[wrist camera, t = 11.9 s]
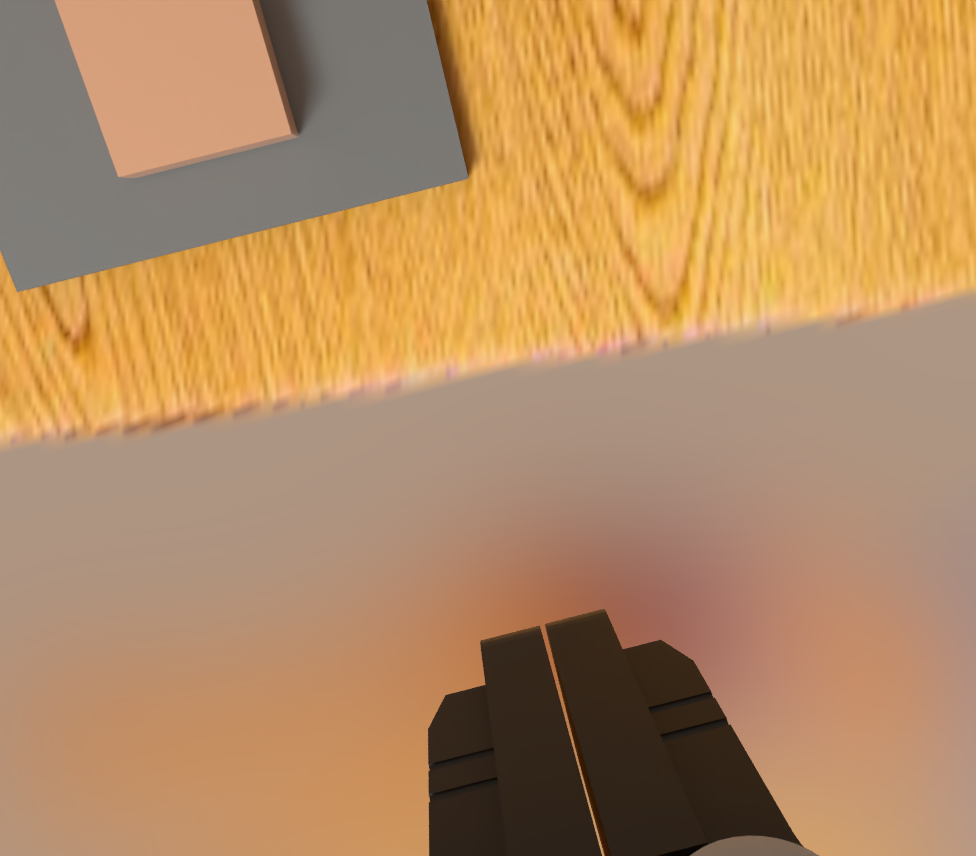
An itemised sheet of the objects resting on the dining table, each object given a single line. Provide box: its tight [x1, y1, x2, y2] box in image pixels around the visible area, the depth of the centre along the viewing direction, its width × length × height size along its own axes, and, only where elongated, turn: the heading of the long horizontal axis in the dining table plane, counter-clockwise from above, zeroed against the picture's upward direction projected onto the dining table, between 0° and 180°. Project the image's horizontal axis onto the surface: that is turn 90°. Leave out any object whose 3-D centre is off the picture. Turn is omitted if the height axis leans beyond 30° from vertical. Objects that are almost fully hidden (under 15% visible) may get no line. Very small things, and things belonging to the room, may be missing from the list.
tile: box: [55, 0, 299, 178], centre depth 31 cm, size 7×2×10 cm
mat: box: [0, 0, 468, 292], centre depth 33 cm, size 20×14×1 cm
